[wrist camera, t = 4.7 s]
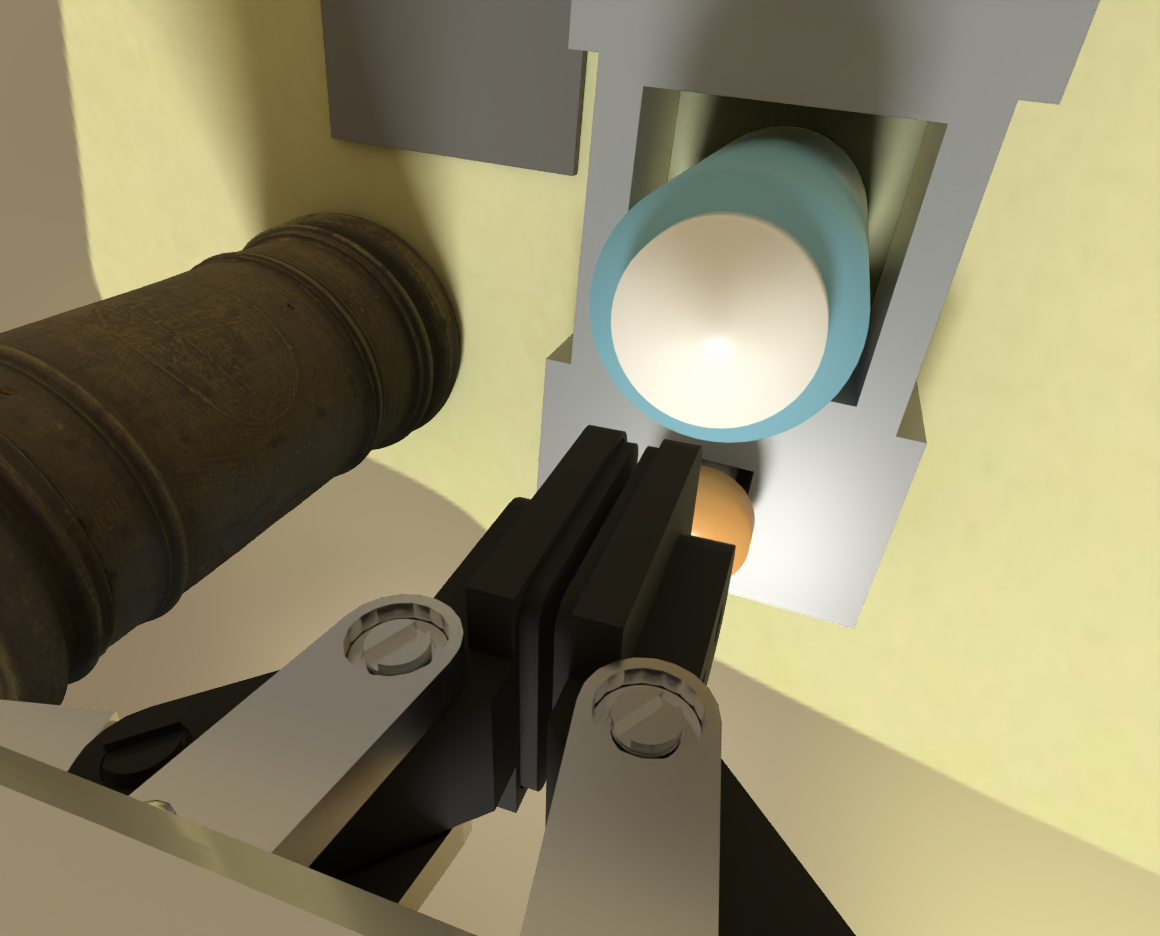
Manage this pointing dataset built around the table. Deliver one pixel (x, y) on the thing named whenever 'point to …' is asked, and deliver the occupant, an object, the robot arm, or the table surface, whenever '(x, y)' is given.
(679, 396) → the cartridge
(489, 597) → the robot arm
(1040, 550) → the table surface
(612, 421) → the housing
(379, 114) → the mat
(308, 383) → the container
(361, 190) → the table surface
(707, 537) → the orange mushroom peg
